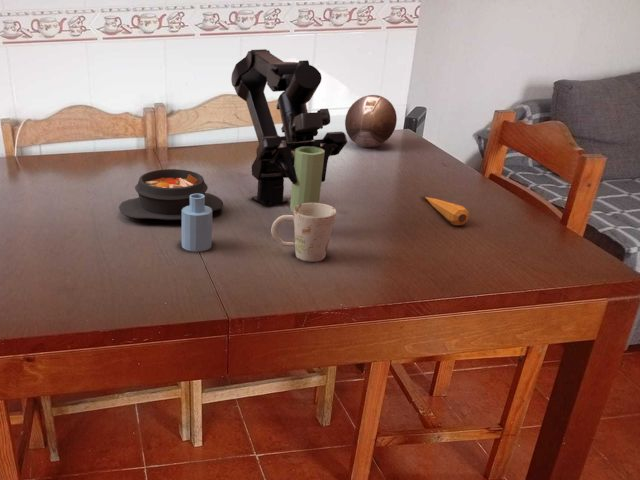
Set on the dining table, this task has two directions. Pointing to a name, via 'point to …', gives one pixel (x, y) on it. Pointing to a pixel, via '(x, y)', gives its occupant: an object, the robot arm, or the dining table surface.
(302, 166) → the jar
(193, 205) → the bottle
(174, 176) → the casserole
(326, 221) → the mug
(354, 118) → the bronze metallic sphere
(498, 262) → the dining table surface
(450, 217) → the carrot
